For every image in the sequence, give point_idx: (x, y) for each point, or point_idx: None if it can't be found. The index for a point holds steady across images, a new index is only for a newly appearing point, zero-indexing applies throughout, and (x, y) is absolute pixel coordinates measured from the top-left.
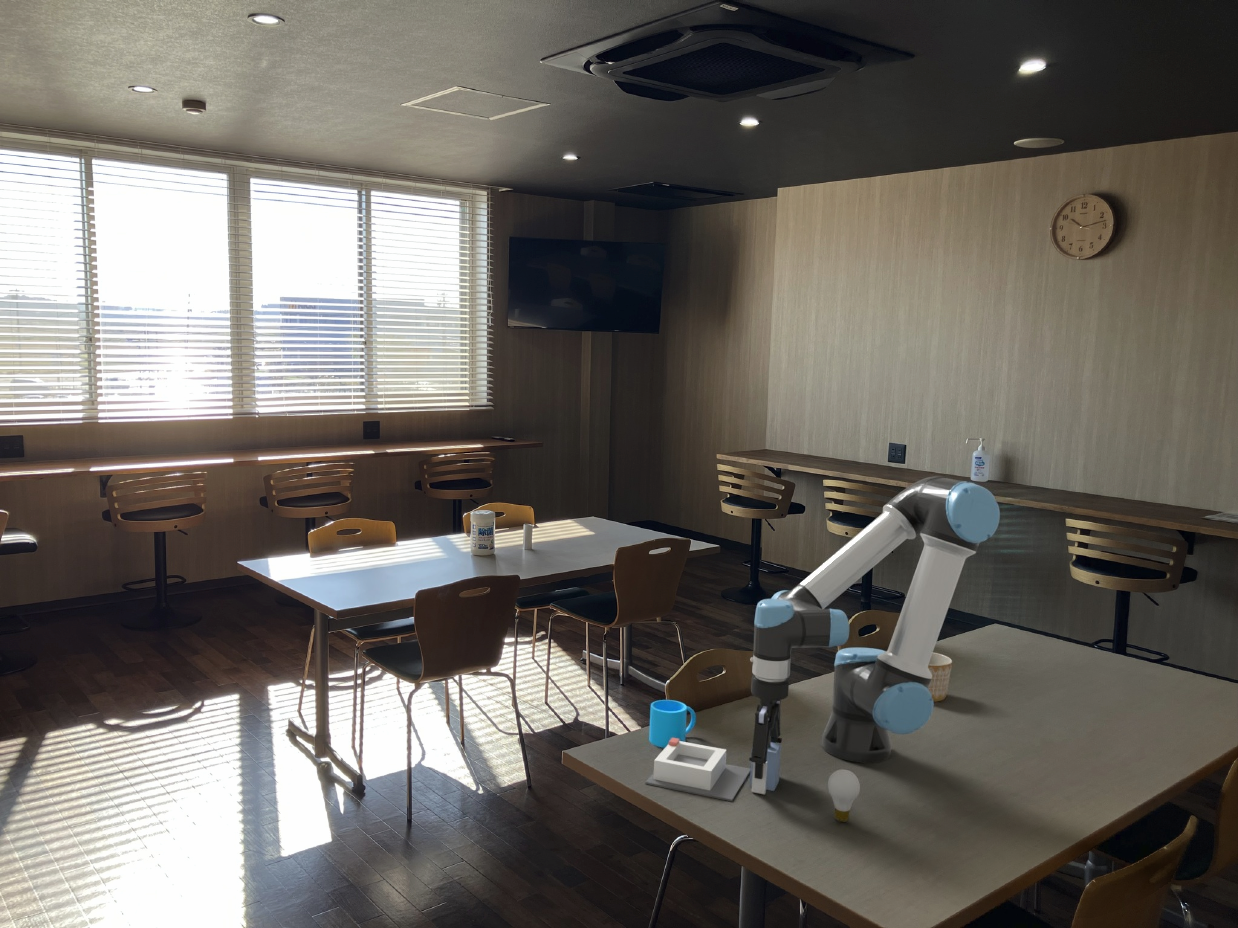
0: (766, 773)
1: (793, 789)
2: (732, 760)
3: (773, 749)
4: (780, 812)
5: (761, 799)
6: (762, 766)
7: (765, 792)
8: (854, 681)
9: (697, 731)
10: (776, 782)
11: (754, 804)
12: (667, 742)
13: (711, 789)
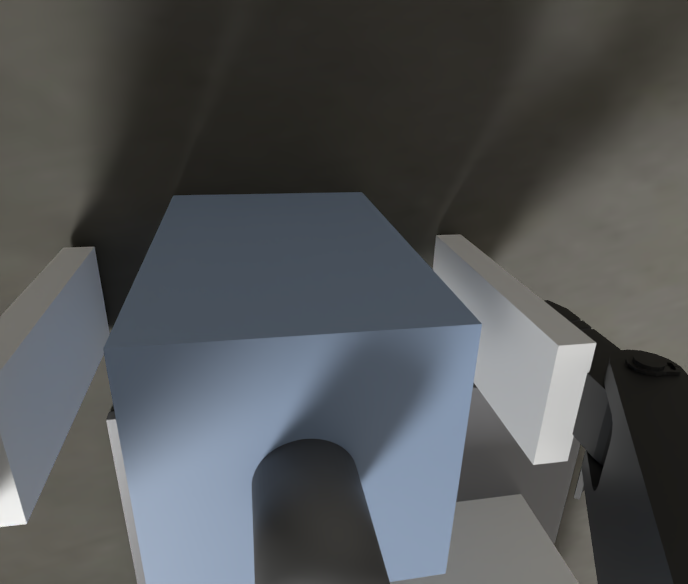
0: (510, 291)
1: (271, 49)
2: (22, 542)
3: (379, 381)
4: (676, 74)
5: (522, 235)
6: (611, 354)
7: (439, 236)
8: None
9: None
10: (277, 200)
11: (598, 255)
12: None
13: (506, 492)
